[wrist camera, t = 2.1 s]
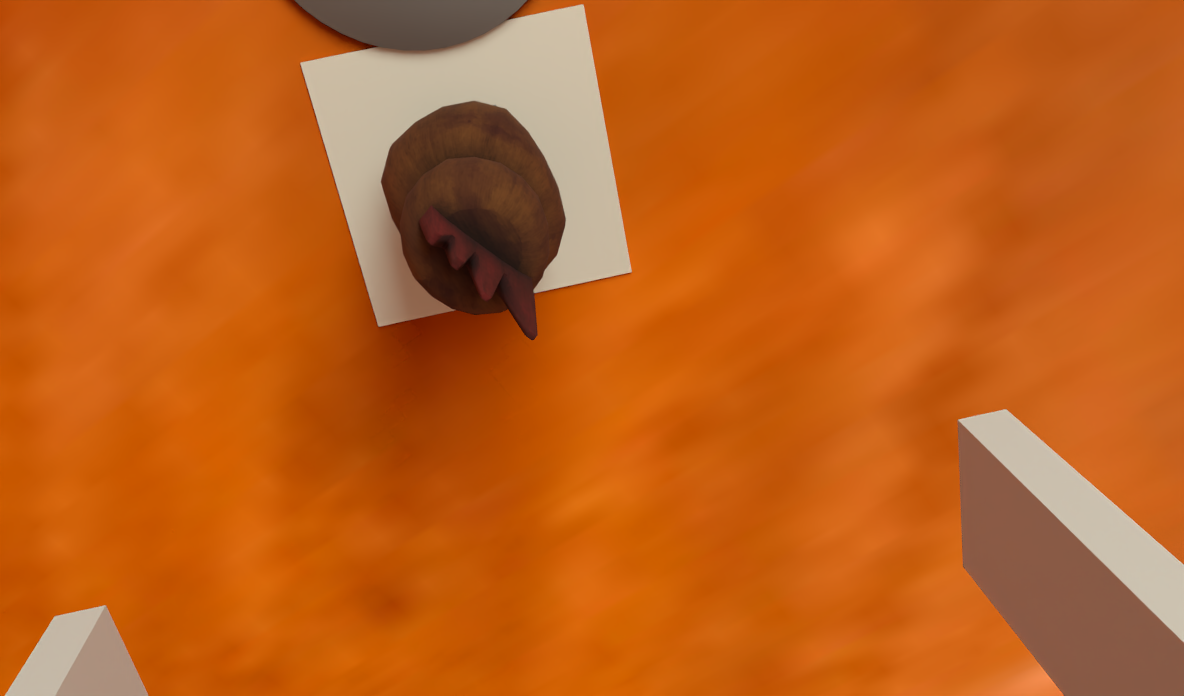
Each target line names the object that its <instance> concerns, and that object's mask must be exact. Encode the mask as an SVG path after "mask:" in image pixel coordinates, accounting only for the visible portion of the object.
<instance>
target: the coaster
mask: <svg viewBox="0 0 1184 696" xmlns="http://www.w3.org/2000/svg"><path fill="white" fill-rule="evenodd" d="M295 1H296V2H297V3H298V4H299V5H300V6H301V7H302V8H303V9H304V10H306V11H307V12H308V13H310V14H311V15H312V16H314V17H315V18H316V19H318V20H319V21H320V22H322V23H324V24H325V25H327V26H329V27H331V28H332V29H334V30H336V31H338V32H339V33H341V34H344V35H346V36H348V37H351V38H353V39H356V40H358V41H361V42H364V43H367V44H371V45H375V46H378V47H382V48H389V49H396V50H404V51H425V50H432V49H440V48H446V47H450V46H453V45H457V44H460V43H464V42H467V41H469V40H471V39H474V38H476V37H478V36H480V35H483V34H485V33H486V32H488V31H490V30H491V29H493V28H495V27H496V26H498V25H500V24H501V23H503V22H504V21H505V20H506V19H507V18H509V17H510V16H511V15H512V14H514V13H515V12H516V11H517V10H518V9H519V8H520V7H521V6H522V5H523V4H524V3H525V2H526V1H527V0H295Z"/></svg>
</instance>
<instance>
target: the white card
mask: <svg viewBox="0 0 1184 696" xmlns="http://www.w3.org/2000/svg"><path fill="white" fill-rule="evenodd" d="M300 64H301V67H302V71H303V74H304V78H305V81H306V84H307V88H308V91H309V94H310V98H311V101H312V104H313V108H314V111H315V115H316V118H317V121H318V125H319V128H320V131H321V135H322V138H323V142H324V145H325V148H326V152H327V155H328V158H329V162H330V165H331V169H332V172H333V175H334V179H335V182H336V185H337V189H338V192H339V196H340V199H341V202H342V206H343V209H344V212H345V216H346V219H347V223H348V226H349V229H350V233H351V236H352V239H353V243H354V246H355V249H356V253H357V256H358V260H359V263H360V266H361V270H362V273H363V276H364V280H365V283H366V287H367V290H368V293H369V297H370V300H371V303H372V307H373V310H374V314H375V317H376V320H377V324H378V327H380V326H385V325H389V324H394V323H399V322H403V321H408V320H413V319H417V318H422V317H426V316H431V315H436V314H440V313H445V312H450V311H454V309H451V308H450V307H448V306H446V305H445V304H443V303H441V302H440V301H438V300H437V299H435V298H433V297H432V296H431V295H430V294H429V293H428V292H427V291H426V290H425V289H424V288H423V287H422V286H421V285H420V284H419V283H418V282H417V281H416V280H415V278H414V277H413V275H412V273H411V271H410V269H409V266H408V264H407V262H406V259H405V257H404V255H403V251H402V243H401V235H400V233H399V231H398V229H397V227H396V225H395V224H394V222H393V220H392V217H391V214H390V211H389V207H388V204H387V201H386V198H385V195H384V191H383V188H382V184H381V178H382V175H383V171H384V167H385V163H386V160H387V156H388V152H389V149H390V147H391V145H392V144H393V143H394V142H395V141H396V140H397V139H398V138H399V137H400V136H401V135H402V134H403V133H404V132H405V131H406V130H407V129H408V128H409V127H411V126H412V125H413V124H414V123H415V122H416V121H418V120H420V119H421V118H423V117H425V116H427V115H428V114H430V113H432V112H434V111H435V110H437V109H439V108H441V107H443V106H448V105H454V104H459V103H464V102H469V101H478V102H482V103H486V104H490V105H494V106H497V107H501V108H505V109H507V110H508V111H509V112H510V113H511V114H512V115H513V116H514V117H515V118H516V119H517V120H518V121H519V122H520V123H521V125H522V126H523V127H524V128H525V129H526V130H527V131H528V132H529V133H530V135H531V137H532V138H533V140H534V141H535V143H536V144H537V146H538V147H539V149H540V151H541V152H542V154H543V155H544V157H545V159H546V161H547V163H548V166H549V168H550V170H551V172H552V174H553V176H554V178H555V180H556V183H557V185H558V188H559V192H560V196H561V200H562V204H563V209H564V213H565V217H566V223H565V229H564V232H563V236H562V239H561V243H560V246H559V250H558V254H557V256H556V257H555V258H554V259H553V261H552V262H551V263H550V264H549V265H548V267H547V268H546V269H545V271H544V274H543V277H542V279H541V280H540V282H539V283H538V284H537V286H536V287H535V289H534V293H537V292H542V291H547V290H551V289H556V288H561V287H565V286H570V285H574V284H579V283H584V282H588V281H593V280H598V279H602V278H607V277H611V276H616V275H621V274H625V273H630V272H632V271H631V265H630V260H629V254H628V249H627V243H626V238H625V232H624V227H623V221H622V216H621V210H620V204H619V199H618V193H617V188H616V182H615V177H614V171H613V166H612V160H611V155H610V149H609V144H608V138H607V133H606V127H605V121H604V116H603V110H602V105H601V99H600V94H599V88H598V83H597V77H596V72H595V66H594V61H593V55H592V49H591V44H590V38H589V33H588V27H587V22H586V16H585V11H584V5H583V4H582V5H577V6H572V7H567V8H563V9H558V10H553V11H548V12H543V13H538V14H534V15H529V16H524V17H519V18H514V19H509V20H505V21H504V22H503V23H501V24H500V25H498V26H496V27H495V28H493V29H491V30H490V31H488V32H486V33H485V34H483V35H480V36H478V37H476V38H474V39H471V40H469V41H467V42H464V43H460V44H457V45H453V46H450V47H446V48H440V49H432V50H425V51H404V50H396V49H389V48H382V47H374V48H369V49H364V50H360V51H355V52H350V53H345V54H340V55H335V56H331V57H326V58H321V59H316V60H311V61H306V62H302V63H300Z"/></svg>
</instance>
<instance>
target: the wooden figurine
mask: <svg viewBox="0 0 1184 696" xmlns="http://www.w3.org/2000/svg"><path fill="white" fill-rule="evenodd" d="M381 184H382V188H383V191H384V195H385V198H386V201H387V204H388V207H389V211H390V214H391V217H392V220H393V222H394V224H395V225H396V227H397V229H398V231H399V233H400V235H401V243H402V251H403V255H404V257H405V259H406V262H407V264H408V266H409V269H410V271H411V273H412V275H413V277H414V278H415V280H416V281H417V282H418V283H419V284H420V285H421V286H422V287H423V288H424V289H425V290H426V291H427V292H428V293H429V294H430V295H431V296H432V297H433V298H435V299H437V300H438V301H440V302H441V303H443V304H445V305H446V306H448V307H450V308H451V309H454V310H458V311H462V312H466V313H470V314H474V315H479V314H489V313H500V312H503V311H505V310H507V309H509V311H510V313H511V314H512V316H513V317H514V319H515V320H516V322H517V323H518V325H519V327H520V328H521V330H522V331H523V333H524V334H525V335H526V336H527V337H528V338H529V339H531V340H534V339H535V338H536V336H537V323H536V311H535V298H534V289H535V287H536V286H537V284H538V283H539V282H540V280H541V279H542V277H543V274H544V271H545V269H546V268H547V267H548V265H549V264H550V263H551V262H552V261H553V259H554V258H555V257H556V256H557V254H558V250H559V246H560V243H561V239H562V236H563V232H564V229H565V223H566V217H565V213H564V209H563V204H562V200H561V196H560V192H559V188H558V185H557V183H556V180H555V178H554V176H553V174H552V172H551V170H550V168H549V166H548V163H547V161H546V159H545V157H544V155H543V154H542V152H541V151H540V149H539V147H538V146H537V144H536V143H535V141H534V140H533V138H532V137H531V135H530V133H529V132H528V131H527V130H526V129H525V128H524V127H523V126H522V125H521V123H520V122H519V121H518V120H517V119H516V118H515V117H514V116H513V115H512V114H511V113H510V112H509V111H508V110H507V109H505V108H501V107H497V106H494V105H490V104H486V103H482V102H478V101H469V102H464V103H459V104H454V105H448V106H443V107H441V108H439V109H437V110H435V111H434V112H432V113H430V114H428V115H427V116H425V117H423V118H421V119H420V120H418V121H416V122H415V123H414V124H413V125H412V126H411V127H409V128H408V129H407V130H406V131H405V132H404V133H403V134H402V135H401V136H400V137H399V138H398V139H397V140H396V141H395V142H394V143H393V144H392V145H391V147H390V149H389V152H388V156H387V160H386V163H385V167H384V171H383V175H382V178H381Z"/></svg>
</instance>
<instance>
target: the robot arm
mask: <svg viewBox="0 0 1184 696" xmlns="http://www.w3.org/2000/svg"><path fill="white" fill-rule="evenodd" d="M958 441H959V468H960V496H961V523H962V551H963V567H964V568H965V569H966V571H967V572H968V573H969V575H970V576H971V577H972V578H973V580H974V581H975V582H976V583H977V585H978V586H979V587H980V589H981V590H982V591H983V592H984V594H985V595H986V596H987V597H988V599H989V600H990V601H991V603H992V604H993V605H994V606H995V608H996V609H997V610H998V612H999V613H1000V614H1001V615H1002V617H1003V618H1004V619H1005V620H1006V622H1007V623H1008V624H1009V626H1010V627H1011V628H1012V629H1013V631H1014V632H1015V633H1016V634H1017V636H1018V637H1019V638H1020V640H1021V641H1022V642H1023V643H1024V645H1025V646H1026V647H1027V649H1028V650H1029V651H1030V652H1031V654H1032V655H1033V656H1034V657H1035V659H1036V660H1037V661H1038V663H1039V664H1040V665H1041V666H1042V668H1043V669H1044V670H1045V671H1046V673H1047V674H1048V675H1049V677H1050V678H1051V679H1052V680H1053V682H1054V683H1055V684H1056V686H1057V687H1058V688H1059V689H1060V691H1061V692H1062V693H1063V694H1064V696H1184V565H1183V564H1182V563H1181V562H1180V561H1179V560H1178V559H1176V558H1175V557H1174V556H1173V555H1172V554H1171V553H1170V552H1168V551H1167V550H1166V549H1165V548H1164V547H1163V546H1162V545H1160V544H1159V543H1158V542H1157V541H1156V540H1155V539H1154V538H1152V537H1151V536H1150V535H1149V534H1148V533H1147V532H1146V531H1144V530H1143V529H1142V528H1141V527H1140V526H1139V525H1138V524H1136V523H1135V522H1134V521H1133V520H1132V519H1131V518H1130V517H1128V516H1127V515H1126V514H1125V513H1124V512H1123V511H1122V510H1120V509H1119V508H1118V507H1117V506H1116V505H1115V504H1114V503H1112V502H1111V501H1110V500H1109V499H1108V498H1107V497H1106V496H1104V495H1103V494H1102V493H1101V492H1100V491H1099V490H1098V489H1097V488H1095V487H1094V486H1093V485H1092V484H1091V483H1090V482H1089V481H1087V480H1086V479H1085V478H1084V477H1083V476H1082V475H1081V474H1079V473H1078V472H1077V471H1076V470H1075V469H1074V468H1073V467H1071V466H1070V465H1069V464H1068V463H1067V462H1066V461H1065V460H1063V459H1062V458H1061V457H1060V456H1059V455H1058V454H1057V453H1055V452H1054V451H1053V450H1052V449H1051V448H1050V447H1049V446H1047V445H1046V444H1045V443H1044V442H1043V441H1042V440H1041V439H1039V438H1038V437H1037V436H1036V435H1035V434H1034V433H1033V432H1031V431H1030V430H1029V429H1028V428H1027V427H1026V426H1025V425H1023V424H1022V423H1021V422H1020V421H1019V420H1018V419H1017V418H1015V417H1014V416H1013V415H1012V414H1011V413H1010V412H1009V411H1007V410H1006V409H1005V410H1000V411H996V412H991V413H986V414H982V415H977V416H973V417H968V418H964V419H959V420H958ZM5 696H148V694H147V692H146V689H145V687H144V685H143V683H142V681H141V679H140V677H139V675H138V672H137V670H136V668H135V666H134V664H133V662H132V660H131V658H130V656H129V653H128V651H127V649H126V647H125V645H124V643H123V641H122V639H121V636H120V634H119V632H118V630H117V628H116V626H115V624H114V622H113V619H112V617H111V615H110V613H109V611H108V609H107V607H106V605H105V606H100V607H96V608H91V609H86V610H82V611H77V612H73V613H68V614H63V615H59V616H55V617H54V618H53V620H52V621H51V623H50V625H49V626H48V628H47V629H46V631H45V633H44V634H43V636H42V637H41V639H40V641H39V642H38V644H37V645H36V647H35V649H34V650H33V652H32V653H31V655H30V656H29V658H28V660H27V661H26V663H25V664H24V666H23V668H22V669H21V671H20V672H19V674H18V676H17V677H16V679H15V680H14V682H13V684H12V685H11V687H10V688H9V690H8V692H7V693H6V695H5Z"/></svg>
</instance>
